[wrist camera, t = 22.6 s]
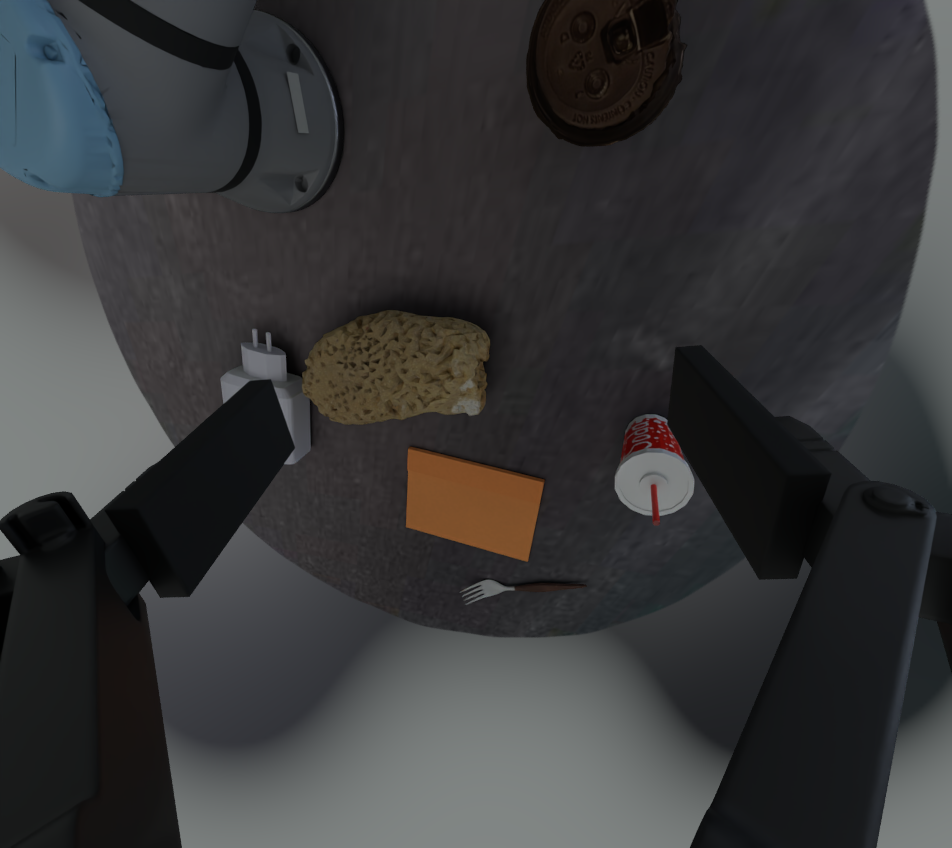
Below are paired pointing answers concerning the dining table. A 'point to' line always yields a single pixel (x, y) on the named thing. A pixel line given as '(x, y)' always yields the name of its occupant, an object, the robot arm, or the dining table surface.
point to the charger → (287, 386)
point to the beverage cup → (652, 469)
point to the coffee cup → (603, 66)
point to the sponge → (397, 368)
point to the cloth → (472, 503)
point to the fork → (515, 588)
